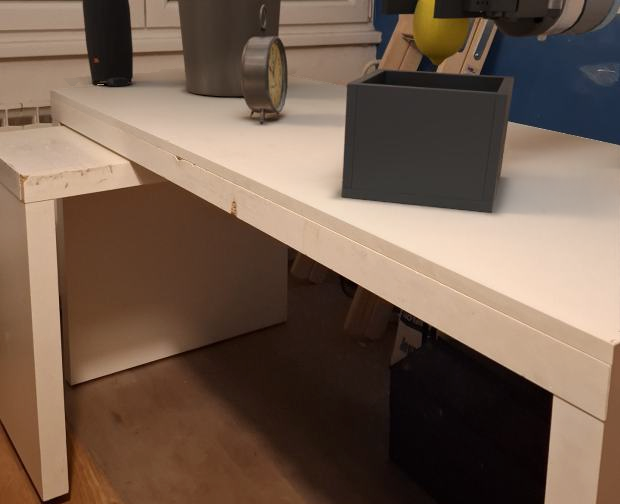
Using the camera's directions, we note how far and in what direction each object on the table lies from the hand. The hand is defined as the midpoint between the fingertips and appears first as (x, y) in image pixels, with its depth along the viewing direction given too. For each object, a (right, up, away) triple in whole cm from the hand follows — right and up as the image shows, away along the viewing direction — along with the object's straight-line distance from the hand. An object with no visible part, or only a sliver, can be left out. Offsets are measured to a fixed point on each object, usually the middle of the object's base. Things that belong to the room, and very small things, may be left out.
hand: (411, 0), depth 70 cm
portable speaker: (-48, +19, +78) cm, 94 cm away
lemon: (+3, -4, +6) cm, 8 cm away
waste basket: (-25, +16, +74) cm, 80 cm away
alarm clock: (-17, +3, +47) cm, 50 cm away
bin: (+3, -15, +11) cm, 19 cm away
